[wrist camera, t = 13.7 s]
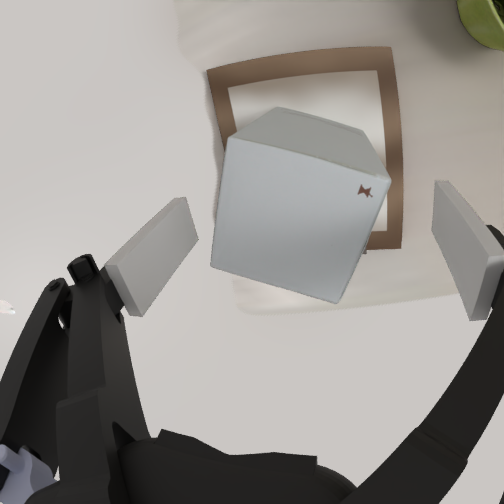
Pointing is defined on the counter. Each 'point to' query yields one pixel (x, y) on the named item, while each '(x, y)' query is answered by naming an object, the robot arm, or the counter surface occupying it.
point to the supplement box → (297, 202)
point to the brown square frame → (324, 107)
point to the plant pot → (484, 21)
